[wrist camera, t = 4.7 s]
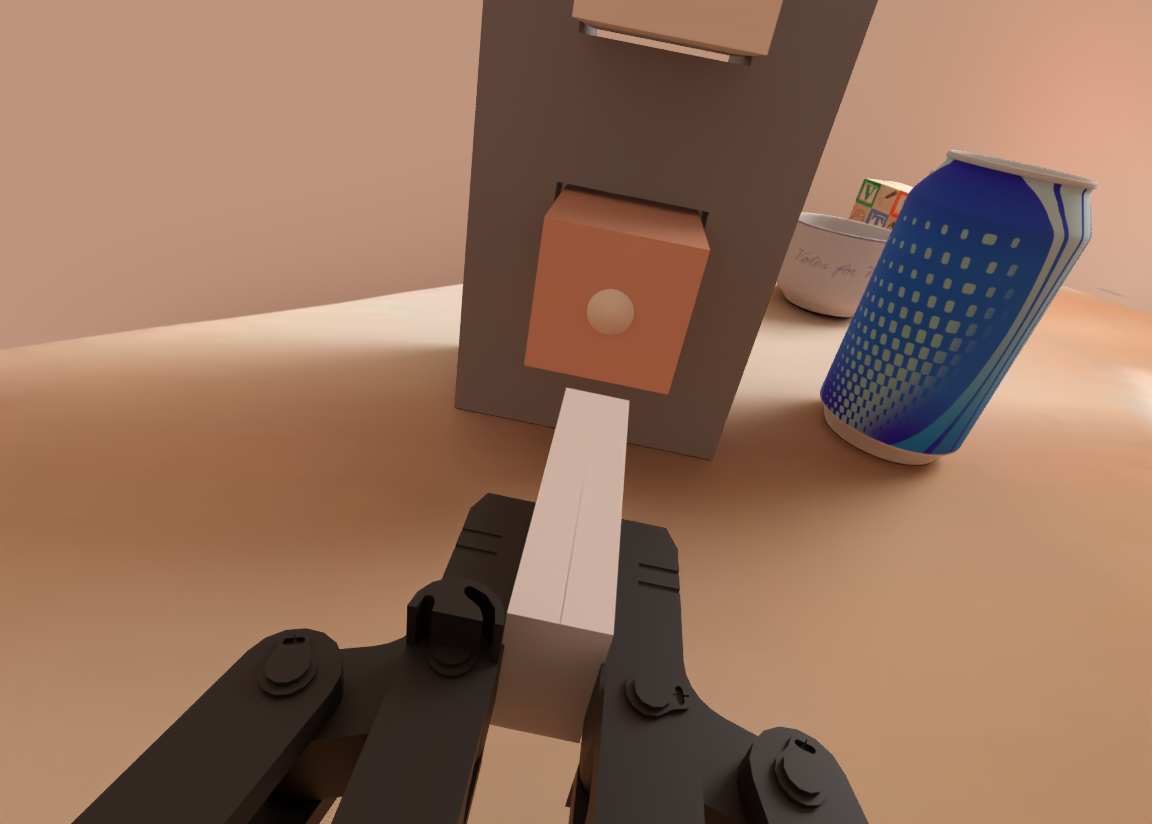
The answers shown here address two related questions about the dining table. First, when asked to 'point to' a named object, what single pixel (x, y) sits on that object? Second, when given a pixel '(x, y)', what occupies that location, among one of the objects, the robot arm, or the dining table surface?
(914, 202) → the beer can
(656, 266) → the lower button
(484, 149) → the button post
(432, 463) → the dining table surface
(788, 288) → the teacup
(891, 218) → the stack of blocks
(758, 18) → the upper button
